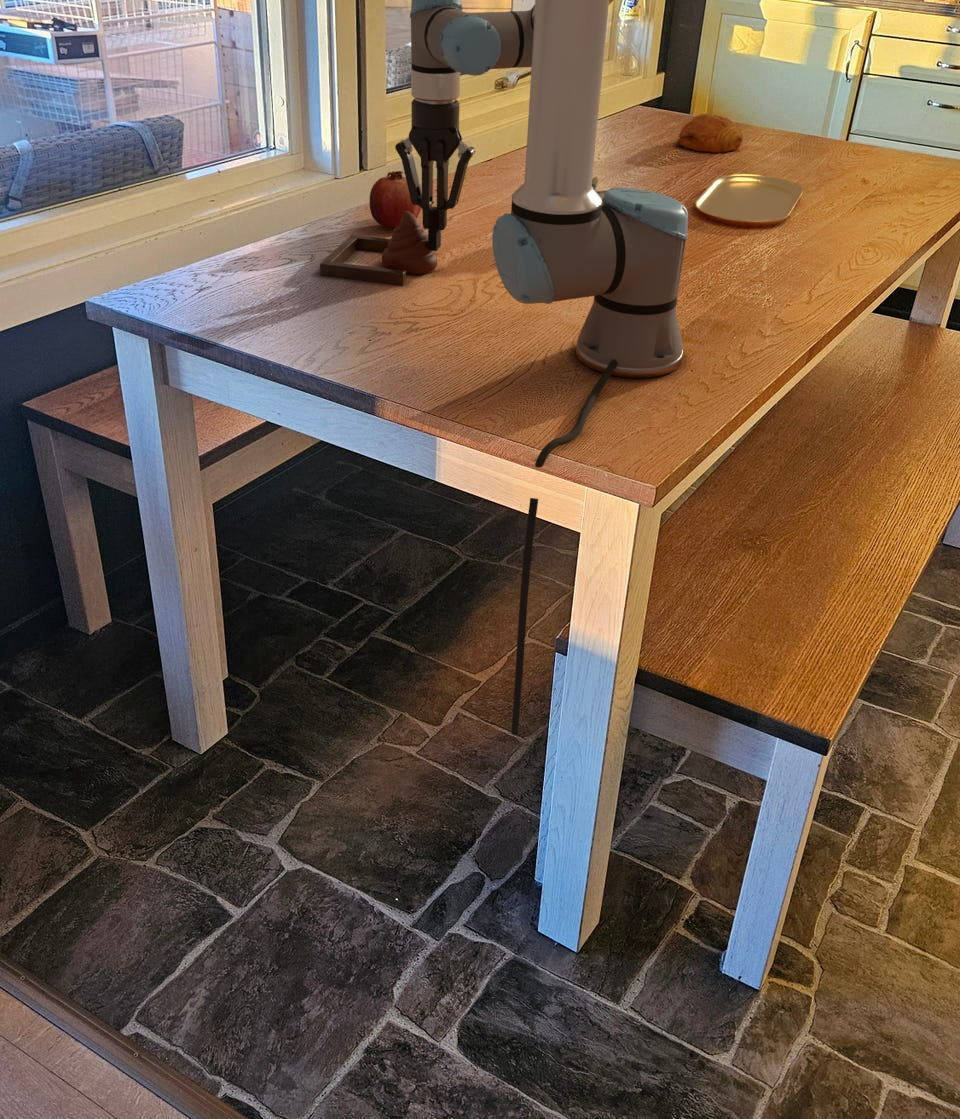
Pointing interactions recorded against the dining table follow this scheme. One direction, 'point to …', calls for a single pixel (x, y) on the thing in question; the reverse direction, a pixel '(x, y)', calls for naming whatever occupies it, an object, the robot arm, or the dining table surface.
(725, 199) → the serving platter
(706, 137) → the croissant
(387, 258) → the poop emoji
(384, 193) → the fruit
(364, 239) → the dark brown u-shaped frame
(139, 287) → the dining table surface
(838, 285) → the dining table surface
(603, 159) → the dining table surface
